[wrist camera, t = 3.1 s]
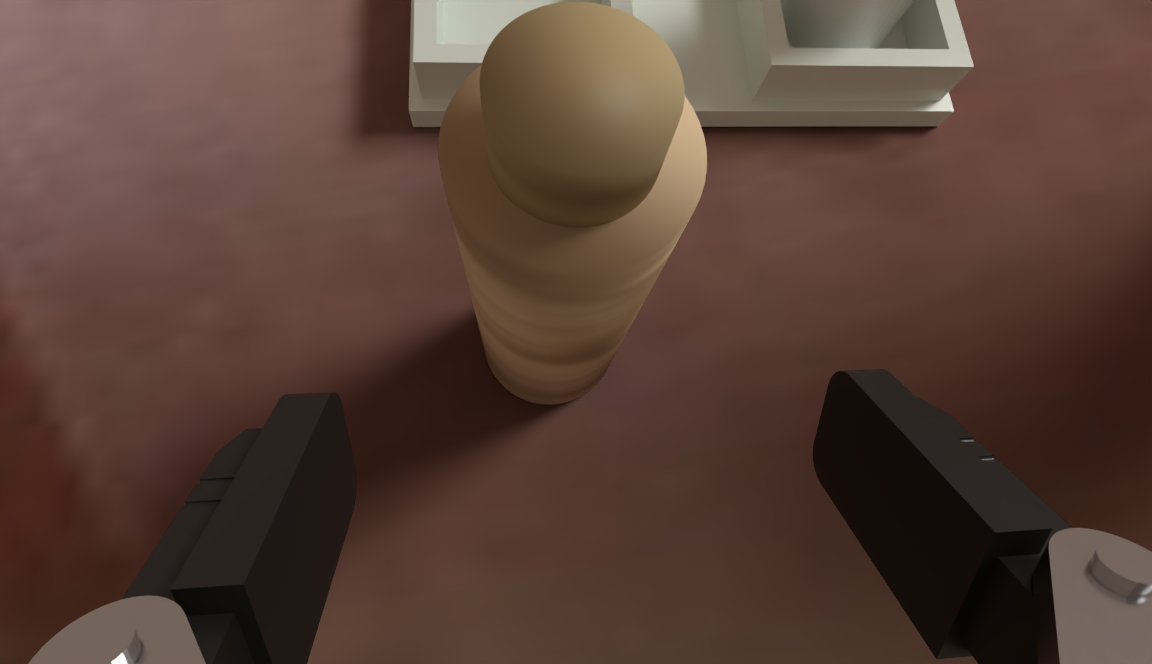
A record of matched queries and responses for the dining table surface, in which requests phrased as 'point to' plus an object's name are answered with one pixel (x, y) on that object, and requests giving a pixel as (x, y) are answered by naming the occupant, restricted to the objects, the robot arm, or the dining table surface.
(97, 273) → the dining table surface
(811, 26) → the salt mill
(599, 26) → the pepper mill
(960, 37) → the stand
